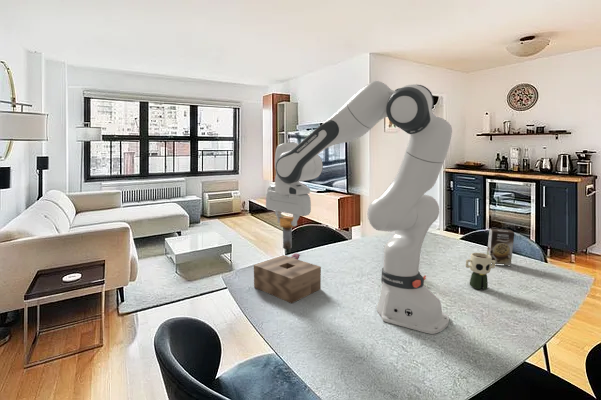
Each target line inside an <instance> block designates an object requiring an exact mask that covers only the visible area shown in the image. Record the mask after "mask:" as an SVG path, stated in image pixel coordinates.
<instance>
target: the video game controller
mask: <svg viewBox="0 0 601 400" xmlns="http://www.w3.org/2000/svg"><path fill="white" fill-rule="evenodd" d="M300 256H301V255H300V253H297V252H295V253H292V255H291V256H290V257H291V258H294V259H297V260H300Z"/></svg>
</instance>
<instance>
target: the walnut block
mask: <svg viewBox="0 0 601 400" xmlns="http://www.w3.org/2000/svg"><path fill="white" fill-rule="evenodd" d="M291 257H292V256H287V255H284V254H283V255H280V256H276V257H274V258H271V259H267V260H264V261H262V262H259V263H256V264H253V286H254V287H253V288H255V289H257V290H260V291H262V292H264V293H267V294H269V295H271V296H273V297H275V298H278V299H281V300H282V301H285V302H288V303H290V304H294V303H296V302H298V301H299V300H301V299H304V298H306V297H307V296H310V295H312V294H313V293H315V292H317V291H318V292H319V290H321V285H322V283H321V282H322V281H321V277H322V275H321V274H322V271H321V270H322V266H319V265H317V264H315V263H314V264H313V263H310V262H307V261H303V260H300V259H298V260H297V259H294V258H291Z"/></svg>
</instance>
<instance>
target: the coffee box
mask: <svg viewBox="0 0 601 400" xmlns="http://www.w3.org/2000/svg"><path fill="white" fill-rule="evenodd" d="M514 239H515V232H514V231H513V230H511V229H505V228H492V227H491V228H489V231H488V240H487V241H488V242H487V250H486V251H487V252H486V254H488V255H490V256H491V257H492V260H495V264H504V265H512V260H513V259H512V256H513V250H514V249H513V248H514ZM491 263H492V262H491ZM492 264H493V263H492Z"/></svg>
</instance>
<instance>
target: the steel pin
mask: <svg viewBox="0 0 601 400" xmlns="http://www.w3.org/2000/svg"><path fill="white" fill-rule="evenodd" d="M293 219H294V217H293V216H288V215H287V216H282V217H280V223H279V227H280V228H282V248H283V250H291V249H292V246H293V245H292V244H293V243H292V239H293V238H292V237H293V236H292V235H293V234H292V233H293V232H292V229H293V228H294V227H295V226H291V221H293Z"/></svg>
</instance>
